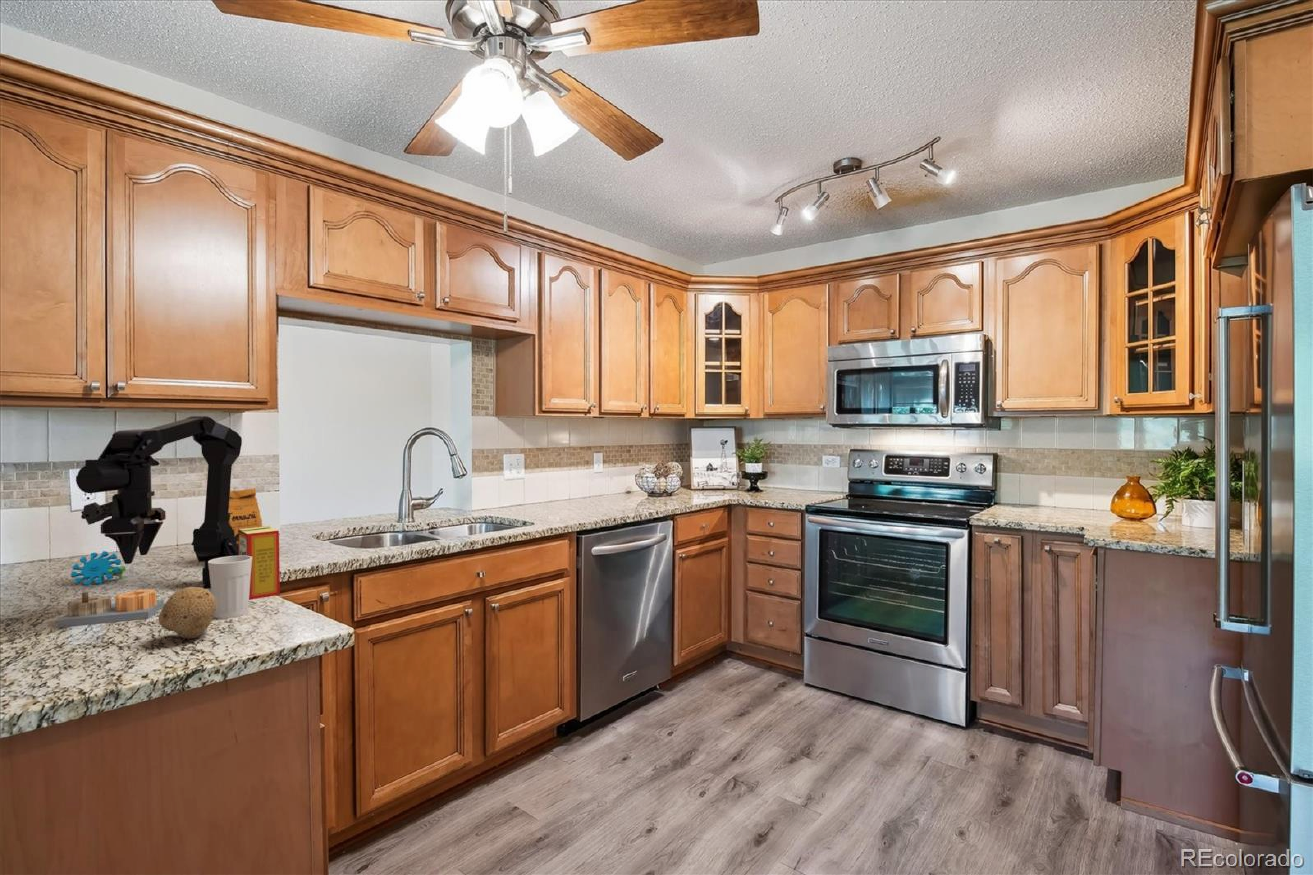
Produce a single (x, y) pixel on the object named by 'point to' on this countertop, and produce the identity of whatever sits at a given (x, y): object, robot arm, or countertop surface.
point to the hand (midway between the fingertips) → (136, 559)
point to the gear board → (110, 616)
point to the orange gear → (135, 600)
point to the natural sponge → (188, 612)
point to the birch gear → (89, 605)
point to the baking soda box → (261, 559)
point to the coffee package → (243, 510)
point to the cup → (230, 585)
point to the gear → (98, 568)
